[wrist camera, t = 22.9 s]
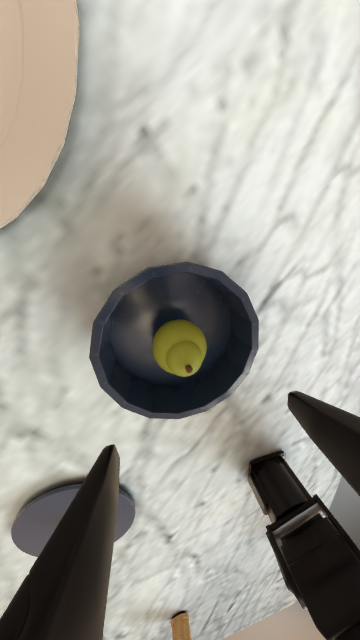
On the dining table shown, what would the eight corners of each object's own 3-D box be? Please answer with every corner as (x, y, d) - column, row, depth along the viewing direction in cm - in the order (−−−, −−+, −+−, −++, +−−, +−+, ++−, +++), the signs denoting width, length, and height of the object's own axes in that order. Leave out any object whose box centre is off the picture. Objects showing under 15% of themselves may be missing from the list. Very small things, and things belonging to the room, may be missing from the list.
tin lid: (120, 463, 23) (114, 510, 18) (144, 523, 28) (144, 571, 23) (-6, 502, 21) (-47, 566, 16) (45, 560, 26) (24, 620, 21)
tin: (231, 254, 17) (259, 250, 13) (236, 371, 22) (258, 396, 18) (83, 277, 15) (60, 281, 11) (124, 400, 20) (118, 436, 16)
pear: (194, 308, 18) (221, 331, 11) (199, 350, 19) (225, 390, 13) (146, 318, 17) (147, 348, 11) (156, 360, 19) (161, 408, 12)
